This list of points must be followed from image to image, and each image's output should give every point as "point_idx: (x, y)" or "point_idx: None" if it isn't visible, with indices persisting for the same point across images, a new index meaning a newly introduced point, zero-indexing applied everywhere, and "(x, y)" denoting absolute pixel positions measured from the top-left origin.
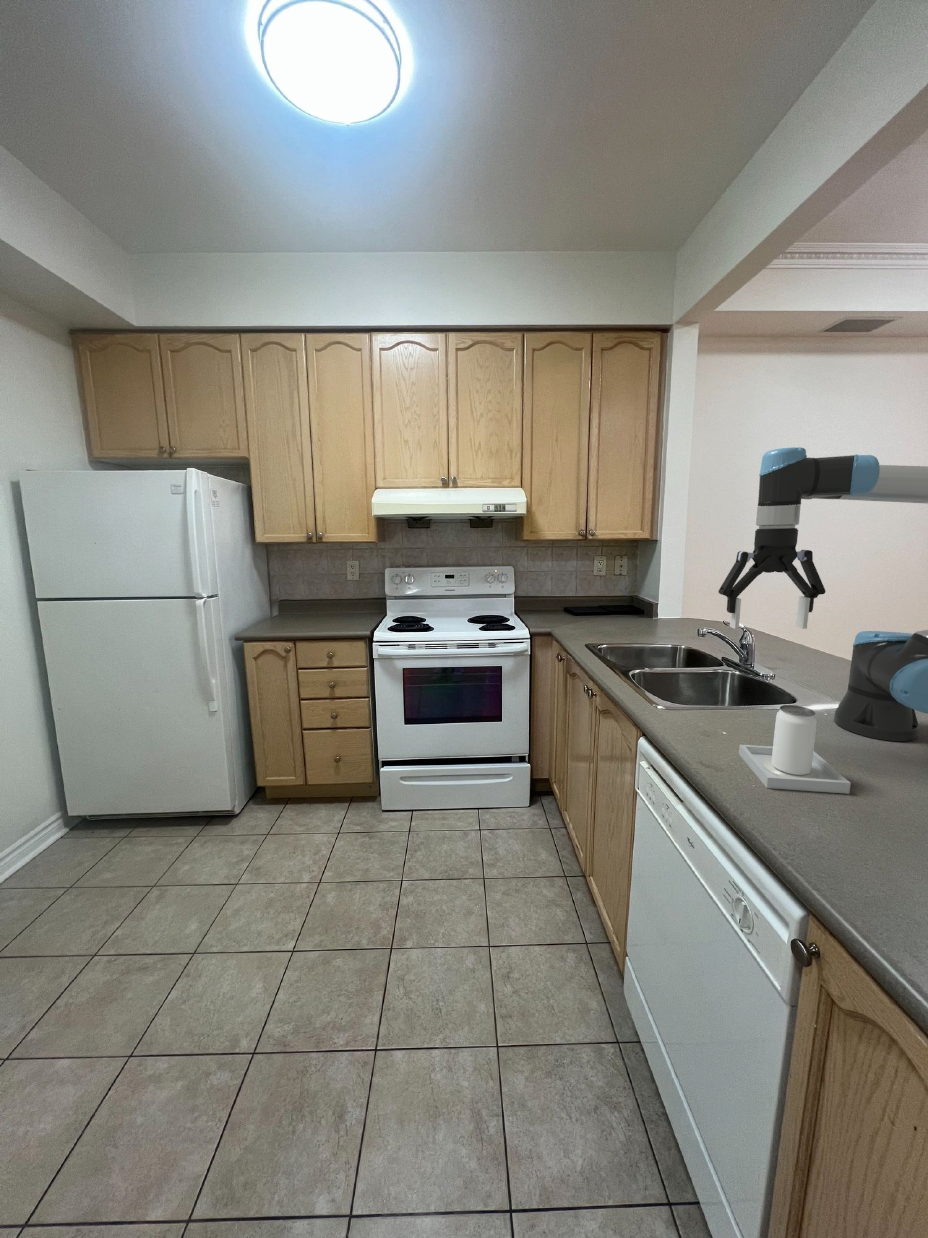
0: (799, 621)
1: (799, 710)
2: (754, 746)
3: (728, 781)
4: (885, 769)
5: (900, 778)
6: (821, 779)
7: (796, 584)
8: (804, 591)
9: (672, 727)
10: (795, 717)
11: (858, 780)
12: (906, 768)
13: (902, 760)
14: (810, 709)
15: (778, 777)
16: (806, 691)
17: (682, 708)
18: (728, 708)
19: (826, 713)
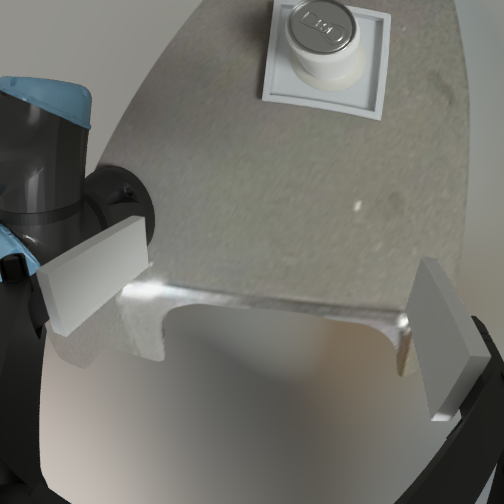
0: (133, 255)
1: (312, 31)
2: (357, 111)
3: (434, 44)
4: (179, 76)
5: (179, 53)
6: None
7: (33, 375)
8: (28, 314)
9: (434, 236)
10: (340, 5)
11: (238, 39)
12: (152, 84)
13: (142, 108)
14: (288, 28)
15: (374, 12)
16: (139, 339)
17: (369, 313)
18: (287, 304)
19: (148, 267)
